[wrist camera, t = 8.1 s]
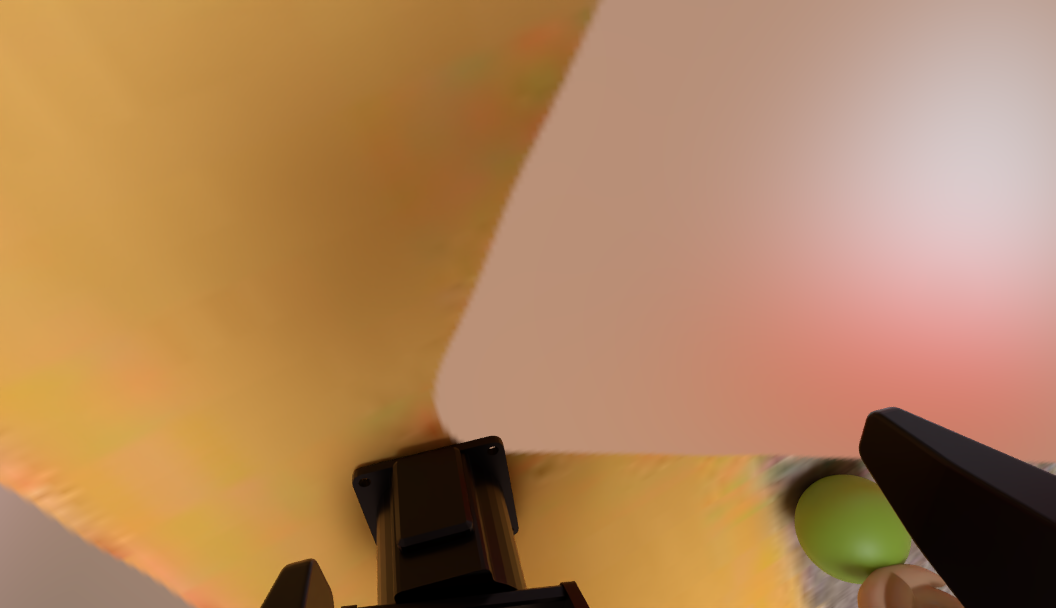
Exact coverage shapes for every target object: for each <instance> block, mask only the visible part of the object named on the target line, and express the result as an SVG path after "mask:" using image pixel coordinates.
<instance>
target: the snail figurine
mask: <svg viewBox="0 0 1056 608" xmlns="http://www.w3.org/2000/svg"><path fill="white" fill-rule="evenodd" d="M795 529H796V534H797V537H798V540H799V542H800V544H801V546H802V548H803V550H804V551H805V553H806V554H807V556H808V557H809V558H810V559H811V561H812V562H813V563H814V564H815V565H817V566H818V567H819V568H820V569H821V570H823V571H824V572H826V573H827V574H829V575H831V576H833V577H835V578H837V579H839V580H842V581H846V582H850V583H856V584H862V585H861V587H860V589H859V592H858V607H859V608H964V607H963V605H962V604H961V603H960V602H959V600H958V599H957V598H955V597H954V596H952V595H950V594H948V593H946V592H944V591H941V590H939V589H936V588H937V587H942V586H944V585H945V584H946V583H945V582H944V581H943V580H942V578H941V577H940V576H939V575H937V574H935V573H933V572H931V571H929V570H927V569H925V568H923V567H920V566H916V565H910V564H904V563H905V561H906V559H907V557H908V554H909V551H910V547H911V536H910V535H909V534H908V532H907V531H906V529H905V527H904V526H903V524H902V523H901V521H900V520H899V518H898V516H897V515H896V513H895V512H894V510H893V508H892V507H891V505H890V504H889V502H888V501H887V499H886V497H885V496H884V494H883V493H882V491H881V489H880V488H879V486H878V485H877V484H876V483H874V482H872V481H870V480H868V479H865V478H862V477H859V476H854V475H832V476H828V477H825V478H822V479H820V480H818V481H816V482H815V483H813V484H812V485H810V486H809V487H808V488H807V489H806V490H805V491H804V493H803V494H802V496H801V497H800V499H799V501H798V504H797V507H796V511H795Z"/></svg>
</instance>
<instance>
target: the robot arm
mask: <svg viewBox="0 0 1056 608" xmlns="http://www.w3.org/2000/svg"><path fill="white" fill-rule="evenodd" d="M494 446H495V447H494ZM490 447H494V448H492V449H489V448H490ZM859 453H860V456H861V459H862V461H863V463H864V464H865V466H866V467H867V469H868V470H869V472H870V474H871V475H872V477H873V478H874V480H875V482H876V483H877V485H878V486H879V488H880V489H881V491H882V493H883V494H884V496H885V497H886V499H887V501H888V502H889V504H890V505H891V507H892V508H893V510H894V512H895V513H896V515H897V516H898V518H899V520H900V521H901V523H902V524H903V526H904V527H905V529H906V531H907V532H908V534H909V535H910V536H911V538H912V539H913V541H914V542H915V544H916V545H917V547H918V548H919V549H920V551H921V552H922V553H923V555H924V556H925V557H926V559H927V560H928V561H929V563H930V564H931V565H932V567H933V568H934V569H935V570H936V572H937V573H938V574H939V576H940V577H941V578H942V580H943V581H944V582H945V583H946V585H947V586H948V587H949V589H950V590H951V591H952V592H953V594H954V595H955V596H956V598H957V599H958V600H959V602H960V603H961V604H962V605H963V607H964V608H1056V475H1053V474H1051V473H1049V472H1046V471H1044V470H1042V469H1039V468H1037V467H1035V466H1033V465H1030V464H1028V463H1026V462H1023V461H1021V460H1019V459H1016V458H1014V457H1011V456H1009V455H1007V454H1005V453H1002V452H1000V451H998V450H995V449H993V448H991V447H988V446H986V445H984V444H981V443H979V442H977V441H974V440H972V439H970V438H967V437H965V436H963V435H960V434H958V433H956V432H954V431H951V430H949V429H946V428H944V427H942V426H940V425H937V424H935V423H933V422H930V421H928V420H926V419H923V418H921V417H919V416H916V415H914V414H912V413H909V412H907V411H904V410H902V409H900V408H896V407H888V408H884V409H880V410H876V411H873V412H871V413H870V414H869V415H868V416H867V419H866V422H865V426H864V429H863V433H862V436H861V440H860V443H859ZM363 478H367V480H362V479H363ZM352 484H353V488H354V490H355V493H356V495H357V498H358V500H359V503H360V505H361V508H362V510H363V513H364V515H365V518H366V520H367V523H368V525H369V528H370V530H371V533H372V535H373V538H374V540H375V543H376V545H377V592H378V605H376V606H367V607H358V608H589V606H588V604H587V602H586V601H585V599H584V597H583V595H582V593H581V591H580V590H579V588H578V586H577V584H576V582H575V581H571V582H562V583H560V585H558V586H549V587H539V588H530V589H527V588H526V584H525V580H524V575H523V571H522V567H521V563H520V559H519V555H518V551H517V547H516V543H515V539H514V535H515V534H516V533H517V532H518V529H519V527H518V522H517V516H516V511H515V505H514V500H513V494H512V489H511V483H510V478H509V472H508V467H507V461H506V456H505V450H504V446H503V442H502V440H501V438H499V437H497V436H489V437H484V438H480V439H477V440H472V441H468V442H464V443H460V444H456V445H452V446H447V447H443V448H439V449H435V450H431V451H427V452H423V453H419V454H415V455H411V456H407V457H402V458H398V459H394V460H390V461H386V462H382V463H378V464H374V465H370V466H366V467H362V468H359V469H357V470H356V471H355V472H354V473H353V477H352ZM260 608H334V601H333V595H332V592H331V589H330V587H329V585H328V583H327V581H326V579H325V577H324V575H323V573H322V571H321V569H320V567H319V565H318V563H317V561H316V560H314V559H312V558H311V559H306V560H302V561H298V562H294V563H291V564H288V565H286V566H285V567H284V568H283V569H282V571H281V572H280V574H279V576H278V578H277V579H276V581H275V583H274V585H273V586H272V588H271V590H270V592H269V593H268V595H267V597H266V599H265V600H264V602H263V604H262V606H261V607H260ZM341 608H357V605H351V606H342V607H341Z"/></svg>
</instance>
